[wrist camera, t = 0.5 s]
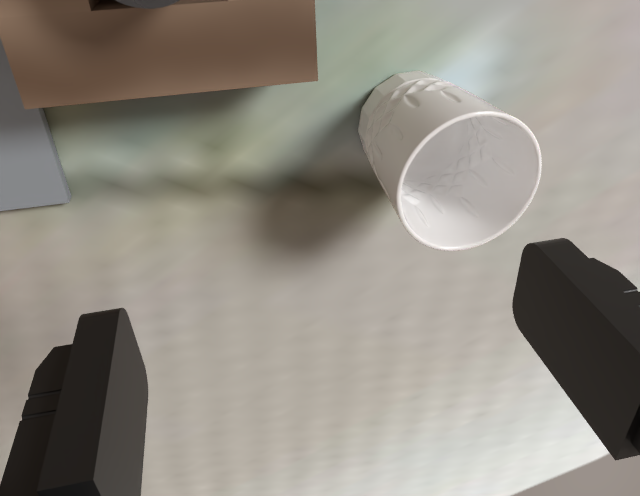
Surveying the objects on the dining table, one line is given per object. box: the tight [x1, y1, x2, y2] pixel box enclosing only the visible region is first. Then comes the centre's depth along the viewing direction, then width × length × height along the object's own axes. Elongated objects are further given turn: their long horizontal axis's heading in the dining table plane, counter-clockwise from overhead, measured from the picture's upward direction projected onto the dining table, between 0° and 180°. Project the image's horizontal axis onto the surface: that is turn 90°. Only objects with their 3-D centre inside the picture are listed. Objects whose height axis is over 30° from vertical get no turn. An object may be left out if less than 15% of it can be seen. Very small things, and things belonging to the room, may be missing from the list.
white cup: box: [358, 70, 542, 251], centre depth 32 cm, size 8×8×10 cm
